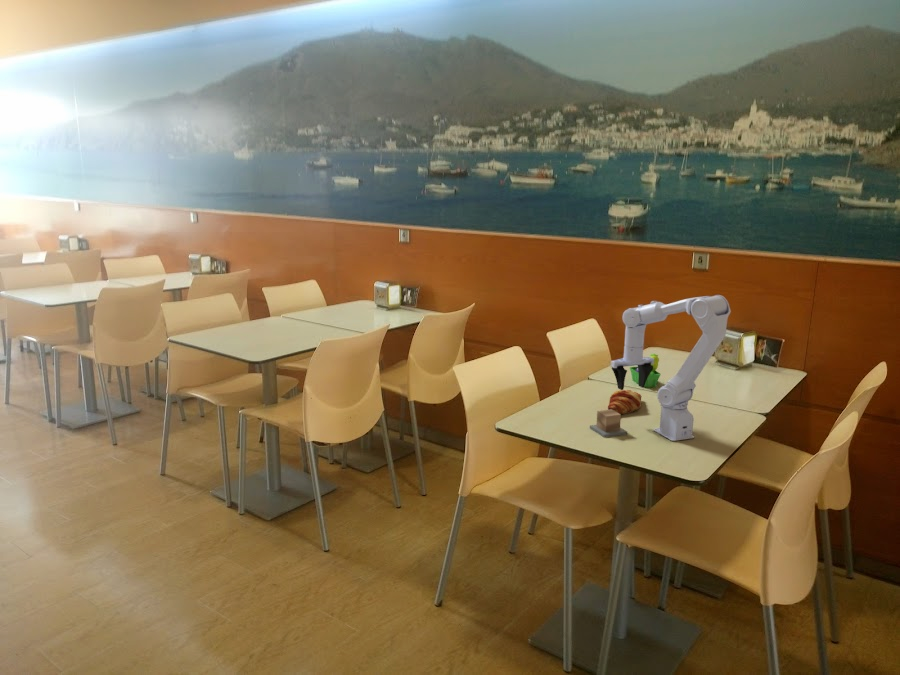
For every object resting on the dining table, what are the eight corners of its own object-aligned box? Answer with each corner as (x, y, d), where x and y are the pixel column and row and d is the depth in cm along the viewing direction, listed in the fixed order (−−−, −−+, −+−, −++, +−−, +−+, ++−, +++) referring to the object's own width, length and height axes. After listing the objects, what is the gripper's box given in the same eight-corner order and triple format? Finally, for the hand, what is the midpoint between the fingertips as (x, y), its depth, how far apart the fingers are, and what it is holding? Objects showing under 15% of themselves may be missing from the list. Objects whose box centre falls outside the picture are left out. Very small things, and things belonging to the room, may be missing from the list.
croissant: (630, 408, 238) (621, 387, 238) (656, 400, 231) (647, 378, 232) (602, 423, 222) (593, 400, 222) (629, 415, 215) (619, 392, 216)
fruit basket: (627, 379, 259) (629, 351, 257) (649, 378, 261) (651, 350, 258) (641, 388, 248) (643, 358, 246) (663, 387, 250) (666, 357, 247)
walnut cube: (619, 430, 205) (620, 414, 204) (605, 432, 203) (606, 416, 202) (610, 424, 210) (611, 409, 209) (596, 426, 208) (597, 411, 207)
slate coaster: (627, 434, 204) (627, 431, 204) (603, 437, 202) (604, 434, 201) (612, 425, 212) (612, 422, 211) (589, 428, 209) (589, 425, 209)
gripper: (646, 341, 217) (643, 382, 221) (606, 344, 213) (604, 386, 216) (659, 346, 211) (656, 388, 214) (619, 350, 206) (616, 392, 209)
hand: (630, 387), depth 215 cm, fingers open, 7 cm apart
